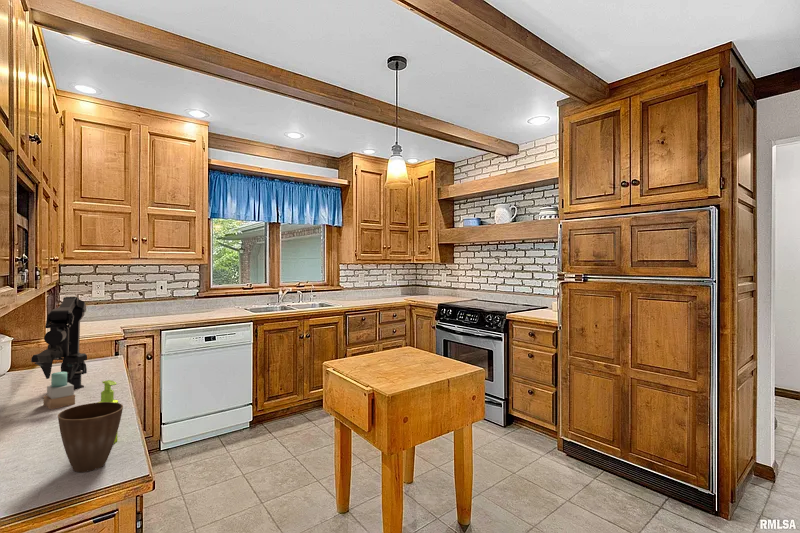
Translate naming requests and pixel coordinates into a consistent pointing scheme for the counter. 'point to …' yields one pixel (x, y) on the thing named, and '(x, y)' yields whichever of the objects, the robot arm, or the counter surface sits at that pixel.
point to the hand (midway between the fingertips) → (59, 378)
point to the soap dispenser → (108, 395)
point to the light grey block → (60, 391)
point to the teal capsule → (59, 379)
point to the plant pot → (89, 433)
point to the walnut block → (58, 401)
